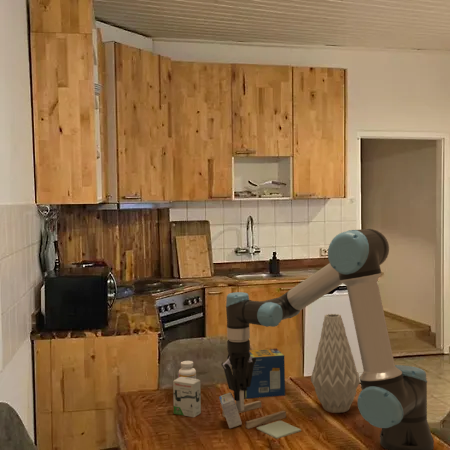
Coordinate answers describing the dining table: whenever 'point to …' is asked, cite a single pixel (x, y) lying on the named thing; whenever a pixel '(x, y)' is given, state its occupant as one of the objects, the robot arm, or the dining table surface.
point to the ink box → (187, 396)
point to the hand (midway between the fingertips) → (240, 409)
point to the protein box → (267, 374)
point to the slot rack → (262, 419)
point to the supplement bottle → (187, 370)
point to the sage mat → (278, 429)
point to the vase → (334, 367)
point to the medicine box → (230, 410)
